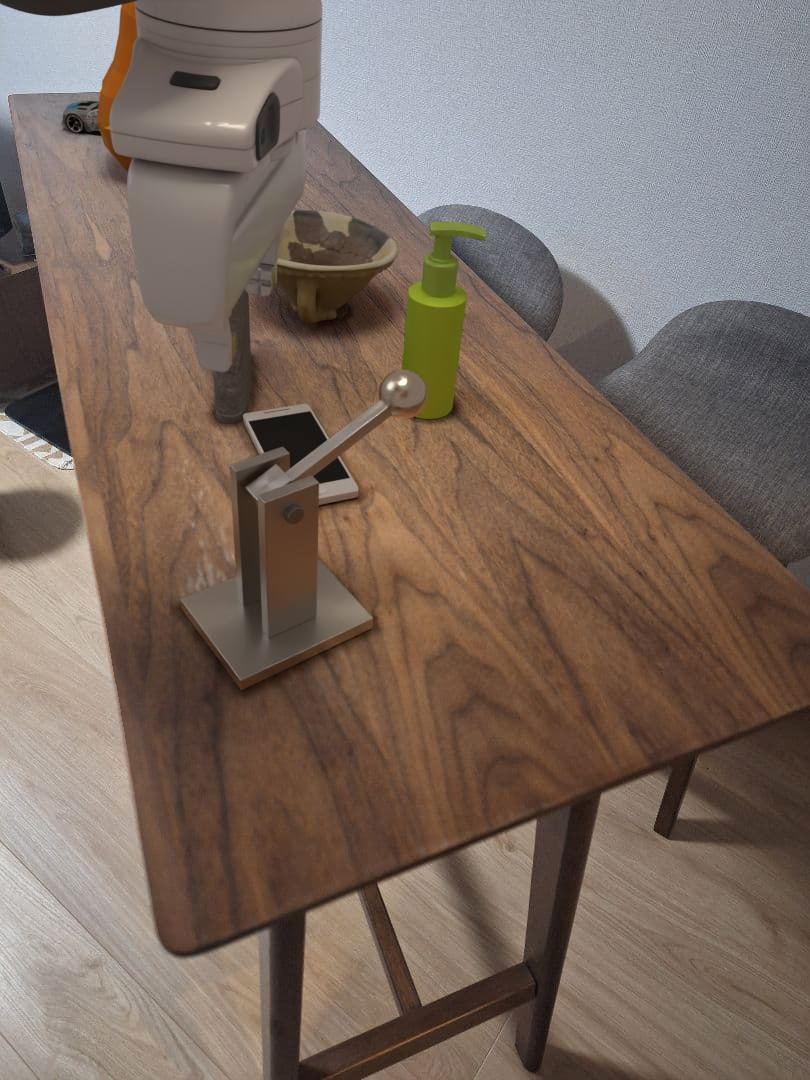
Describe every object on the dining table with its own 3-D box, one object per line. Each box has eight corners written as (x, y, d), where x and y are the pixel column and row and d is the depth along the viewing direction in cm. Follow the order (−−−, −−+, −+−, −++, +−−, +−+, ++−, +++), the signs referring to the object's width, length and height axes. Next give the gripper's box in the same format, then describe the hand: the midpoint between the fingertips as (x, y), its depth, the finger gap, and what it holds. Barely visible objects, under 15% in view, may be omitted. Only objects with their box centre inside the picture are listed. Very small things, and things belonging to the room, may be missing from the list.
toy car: (77, 117, 159) (72, 86, 156) (171, 131, 158) (168, 100, 154) (57, 130, 153) (52, 99, 150) (155, 144, 152) (151, 113, 149)
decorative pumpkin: (90, 152, 147) (58, -69, 127) (233, 142, 156) (224, -66, 136) (121, 208, 132) (90, -33, 112) (278, 194, 140) (275, -33, 120)
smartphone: (287, 511, 84) (287, 503, 83) (241, 420, 94) (241, 412, 94) (360, 497, 86) (360, 489, 86) (307, 409, 97) (308, 402, 96)
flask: (255, 352, 105) (249, 196, 93) (251, 424, 94) (245, 258, 82) (222, 352, 104) (213, 195, 92) (215, 423, 94) (203, 256, 82)
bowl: (375, 355, 106) (380, 278, 100) (228, 329, 108) (223, 252, 102) (406, 289, 119) (412, 218, 113) (273, 268, 121) (272, 196, 115)
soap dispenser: (462, 421, 97) (488, 241, 84) (398, 417, 97) (413, 235, 84) (461, 392, 102) (485, 216, 89) (399, 387, 101) (414, 210, 88)
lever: (413, 385, 70) (400, 352, 67) (441, 407, 68) (430, 374, 65) (256, 505, 68) (236, 476, 65) (280, 533, 65) (261, 504, 63)
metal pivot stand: (307, 556, 80) (309, 414, 70) (372, 628, 74) (384, 484, 64) (181, 609, 74) (163, 462, 64) (241, 690, 68) (231, 543, 58)
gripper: (228, 21, 53) (236, 247, 63) (91, 127, 38) (128, 407, 47) (334, 35, 53) (327, 260, 62) (239, 147, 38) (248, 425, 47)
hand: (240, 325), depth 55 cm, fingers open, 8 cm apart
